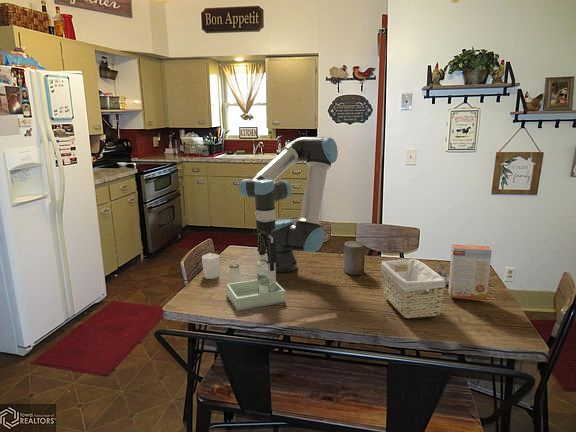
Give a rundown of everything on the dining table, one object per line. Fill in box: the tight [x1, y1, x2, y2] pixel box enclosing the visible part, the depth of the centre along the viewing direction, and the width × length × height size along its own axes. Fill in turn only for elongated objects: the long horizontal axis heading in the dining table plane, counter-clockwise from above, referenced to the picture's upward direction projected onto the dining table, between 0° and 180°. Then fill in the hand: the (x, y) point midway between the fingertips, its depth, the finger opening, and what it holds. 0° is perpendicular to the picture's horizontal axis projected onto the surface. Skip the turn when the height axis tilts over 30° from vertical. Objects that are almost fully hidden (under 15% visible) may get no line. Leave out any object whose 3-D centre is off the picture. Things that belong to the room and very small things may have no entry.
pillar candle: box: [343, 240, 366, 275], centre depth 194 cm, size 10×10×15 cm
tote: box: [226, 279, 286, 312], centre depth 165 cm, size 20×16×5 cm
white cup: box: [201, 253, 220, 280], centre depth 189 cm, size 8×8×10 cm
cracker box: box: [448, 243, 493, 301], centre depth 165 cm, size 14×6×21 cm, turn 76°
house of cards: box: [436, 264, 450, 285], centre depth 182 cm, size 9×9×8 cm
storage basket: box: [380, 258, 447, 319], centre depth 158 cm, size 24×16×15 cm
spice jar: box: [228, 262, 242, 284], centre depth 178 cm, size 5×5×10 cm
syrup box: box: [256, 259, 277, 294], centre depth 166 cm, size 6×6×14 cm
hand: (267, 273), depth 166 cm, fingers open, 9 cm apart
